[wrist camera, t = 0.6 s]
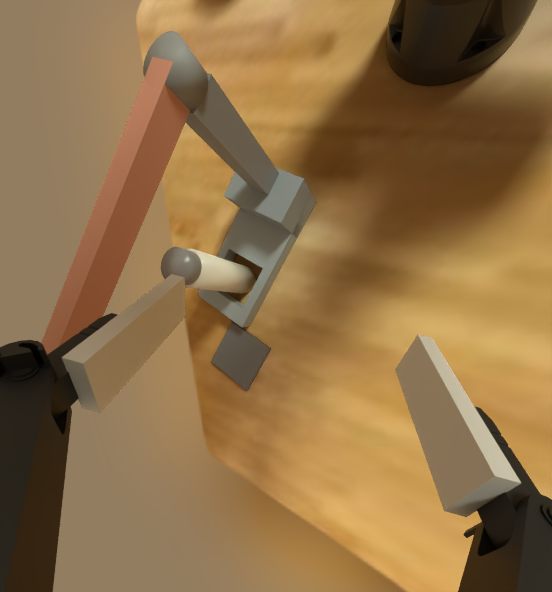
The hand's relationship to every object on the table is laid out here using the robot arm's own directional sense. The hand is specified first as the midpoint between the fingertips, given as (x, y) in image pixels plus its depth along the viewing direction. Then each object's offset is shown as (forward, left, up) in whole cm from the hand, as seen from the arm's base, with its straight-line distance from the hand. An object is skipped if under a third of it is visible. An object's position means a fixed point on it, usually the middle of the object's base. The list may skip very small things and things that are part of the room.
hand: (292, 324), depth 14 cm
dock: (-2, -16, -22) cm, 27 cm away
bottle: (+3, -16, -22) cm, 27 cm away
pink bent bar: (0, -16, -9) cm, 18 cm away
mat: (+14, -10, -22) cm, 28 cm away
